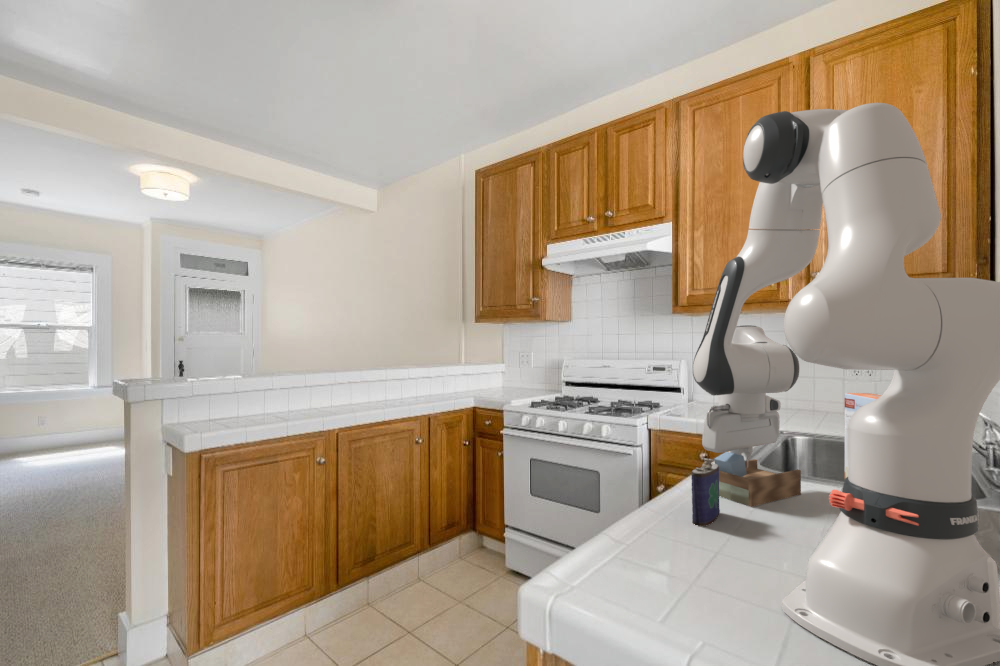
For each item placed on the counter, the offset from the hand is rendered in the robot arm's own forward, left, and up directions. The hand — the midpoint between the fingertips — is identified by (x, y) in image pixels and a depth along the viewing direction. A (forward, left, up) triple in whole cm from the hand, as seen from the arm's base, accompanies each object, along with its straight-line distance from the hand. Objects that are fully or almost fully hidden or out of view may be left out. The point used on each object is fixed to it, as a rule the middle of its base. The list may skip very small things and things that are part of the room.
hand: (741, 468), depth 99 cm
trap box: (+1, -2, -5) cm, 5 cm away
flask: (-20, -7, -5) cm, 22 cm away
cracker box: (+17, -17, -5) cm, 25 cm away
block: (-3, 0, -1) cm, 3 cm away
